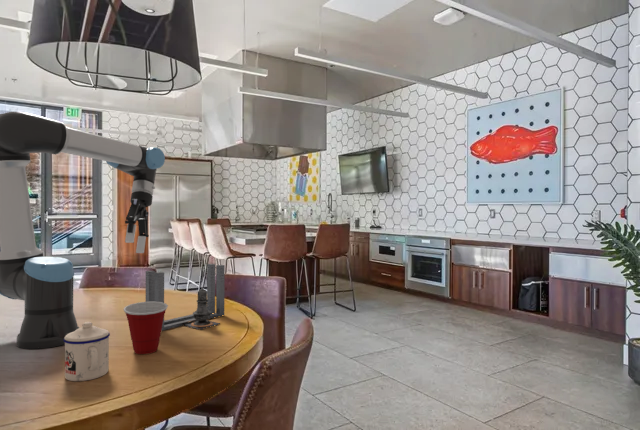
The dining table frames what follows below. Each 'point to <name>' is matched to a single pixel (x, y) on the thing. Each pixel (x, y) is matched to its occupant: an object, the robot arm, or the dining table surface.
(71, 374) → the teacup with lid
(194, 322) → the pad
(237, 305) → the dining table surface
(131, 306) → the plastic cup
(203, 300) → the dark grey finial
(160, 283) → the metal stand
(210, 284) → the metal stand
